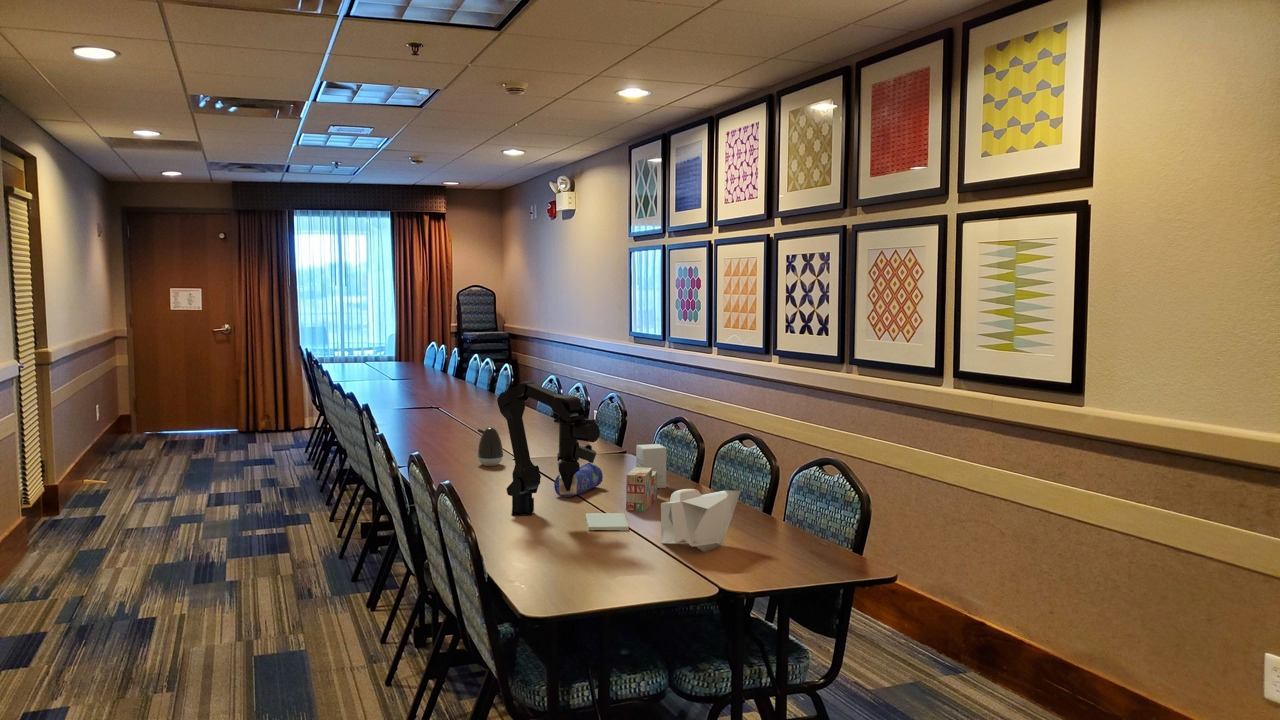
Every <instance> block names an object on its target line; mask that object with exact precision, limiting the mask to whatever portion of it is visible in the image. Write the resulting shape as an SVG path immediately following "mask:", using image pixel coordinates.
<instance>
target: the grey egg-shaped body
mask: <svg viewBox="0 0 1280 720" xmlns="http://www.w3.org/2000/svg"><path fill="white" fill-rule="evenodd" d="M477 432H478V433H479V434H481V436H480V440H479V443H478V447H477V458H478V461H479V463H480V464H481V465H483V466H485V467H495V466H499V464H500V463H502V459H503V457H504V450H503V449H504V448H503V444H502V439H501V437H500V435H499V432H498V431H497V429H495V428H493V427H486V429H485V430H484V429H483V430H482V429H480V428H478V429H477Z"/></svg>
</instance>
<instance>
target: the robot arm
mask: <svg viewBox="0 0 1280 720" xmlns="http://www.w3.org/2000/svg"><path fill="white" fill-rule="evenodd" d="M529 399H532V400H535V401H537V402H539V403H541V404H543V405H546V406H548V407H550V408H551V410H552V412H553V413H554V414H556V415H557V417H556V418H555V419H553V422H554V423H558V453H557V455H556V456H557V459H556V460H557V466H558V467H557V468H558V473H559V474H560V475H561V478H562V481H563V483H564V486H565V489H566V491H570V488H571V484H572V480H573V475H574V474H575V473H576V472H578V471H580V467H581V466H580V462H579V460H580V459H582V460H584V461H586V462H588V463H591V464H594V461H595V459H596V456H597V451H596V450H594V449H593V447H592V445H590V444H588V443H595V442H597V441H598V439H599V438H600V436H601V435H600V434H601V430H600V427H599V425H598V424H597V423H596V419H594V418H590V419H589V416H588V415H587V412H586V410H585V409H584V406H583V404H582V403H581V399H580V398H579V397H578V396H574V395H568V394H561V393H560V394H559V393H557V392H554V391H552V390H550V389H548V388H545V387H543V386H541V385H539V384H537V383H535V382H533V381H522V382H520V383H518V384H517V385H516V386H513V387H512V388H510V389H507V390H506V391H502V392H500V393H499V394H498V397H497V399H496V403H497V406H498V409H499V412H500V414H501V415H502V416H503V417H504V419H505V420H506V423H507V428H508V433H509V438H510V444H511V448H512V454H513V460H514V467H513V469H512V475H511V476H512V482H510V484H509V485H508V486H507V487H506V488H505V489H506V494H507V496H509V497H510V496H511V501H512V503H511V516H532V515H533V512H535V497H533V494H537V493H538V489H539V487H540V484H541V479H542V475H541V473H540V467H539V465H535V464H534V463H533V462H532V460H531V456H530V450H529V445H528V440H527V434H526V428H525V425H524V420H523V416H524V412H525V410H526V402H527V401H528V400H529ZM579 441H582V442H588V443H586V444H585V445H584V446H583V445H582V446H581V445H580V443H579Z"/></svg>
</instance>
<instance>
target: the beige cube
mask: <svg viewBox="0 0 1280 720" xmlns="http://www.w3.org/2000/svg"><path fill="white" fill-rule="evenodd" d="M576 487H577V477H576V474H574V475H573V480H572V484H571V488H570V491H566V489H565V486H564V483H563V481H562V478H561V475H560V486H559V491H560V494H576Z"/></svg>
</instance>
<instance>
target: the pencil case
mask: <svg viewBox="0 0 1280 720" xmlns="http://www.w3.org/2000/svg"><path fill="white" fill-rule="evenodd" d="M601 469H602V468H601V467H599V466H597V465H596V464H594V463H590V462H587V463H585V464H583V465H581V466H580V471H578V472H576V473H575V474H576V477H577V487H576V494H560V491H559V486H560V473H559V474H558V475H557V476H556V478H555V480H554V482H553V488H554V492H555V493H556V494H557V496H558V497H560V496H561V497H560V498H562V497H568V498H572V497H574V496H577V495H580V494H583V493H586V492H587V491H589V490H592V489H594V488H596V487H598V486H600V485H601V483H602V482H603V477H604V475H603V471H602V470H601Z"/></svg>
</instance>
